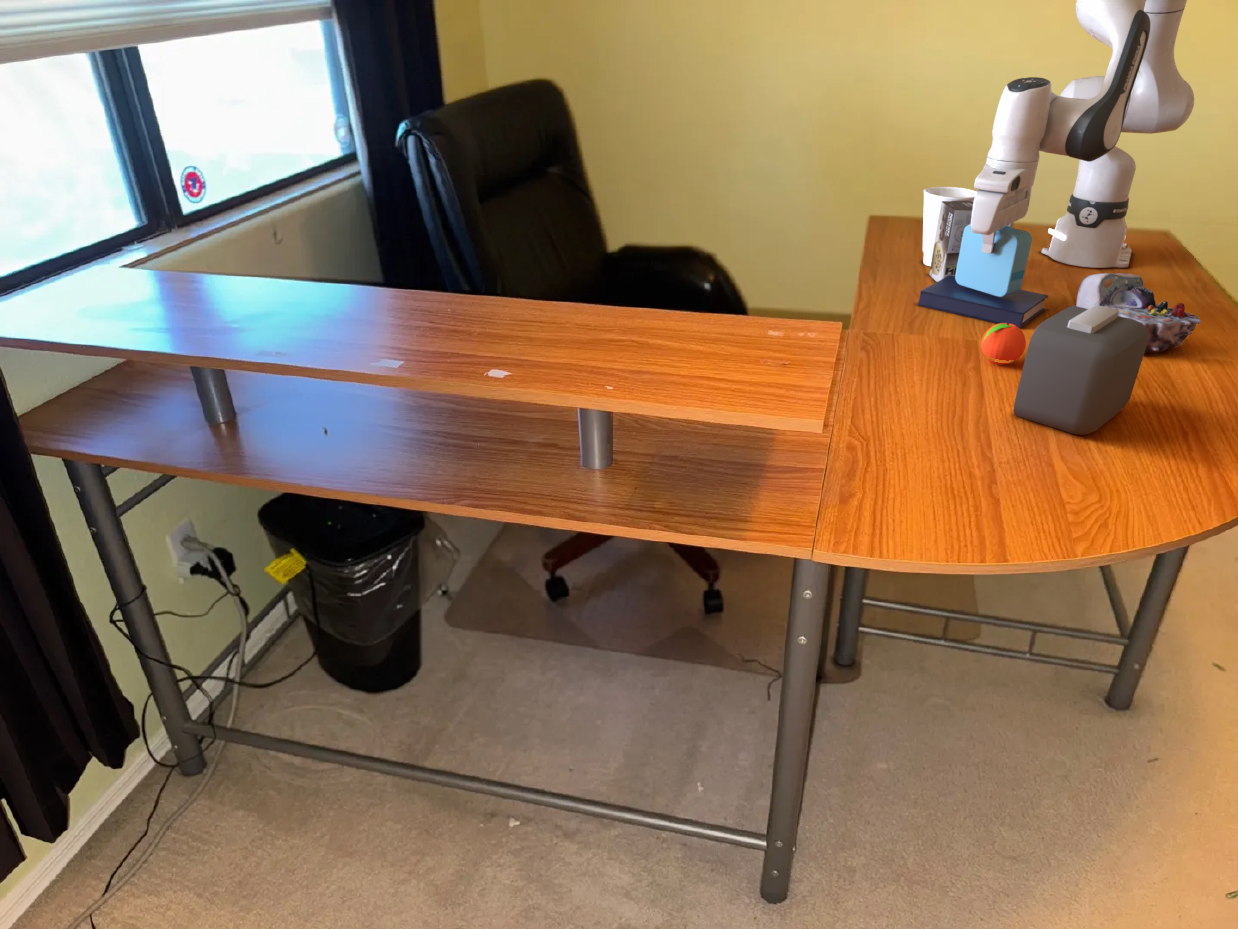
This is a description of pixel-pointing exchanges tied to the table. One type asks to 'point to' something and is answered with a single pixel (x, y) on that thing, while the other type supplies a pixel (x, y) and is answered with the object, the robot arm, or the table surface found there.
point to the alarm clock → (1080, 368)
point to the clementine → (1003, 342)
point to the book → (982, 303)
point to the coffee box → (949, 237)
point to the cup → (932, 212)
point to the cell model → (1138, 308)
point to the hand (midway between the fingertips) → (993, 248)
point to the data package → (994, 262)
